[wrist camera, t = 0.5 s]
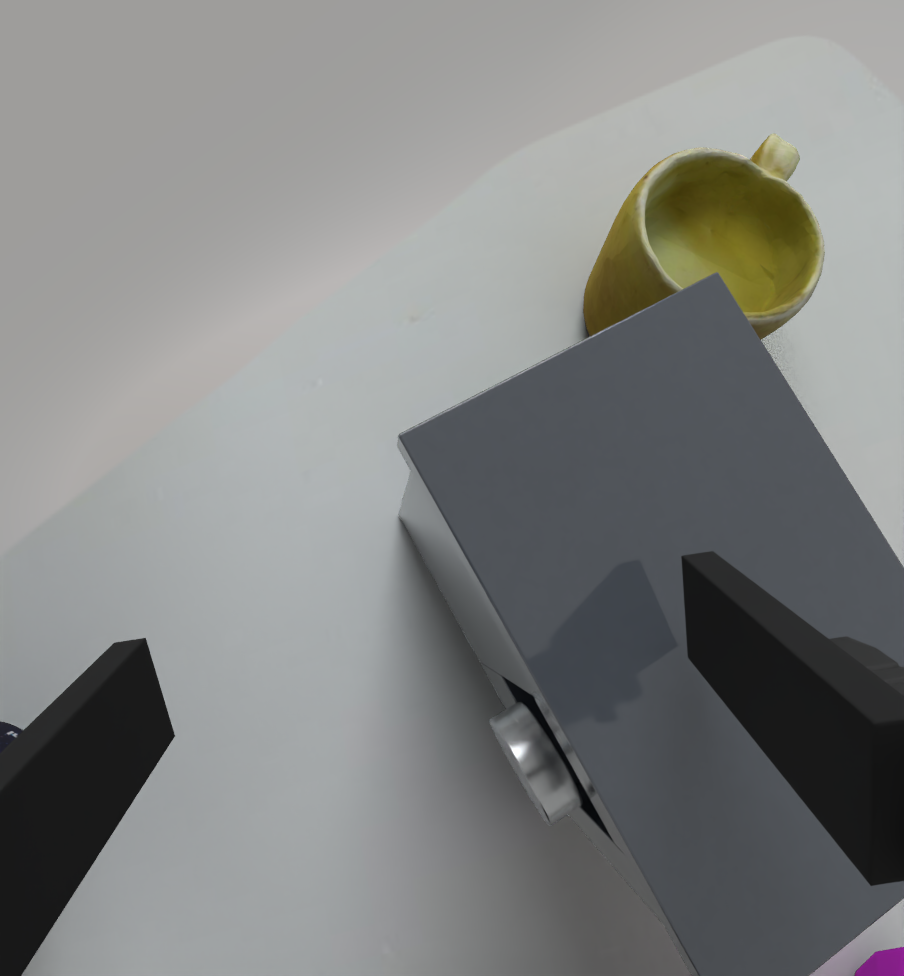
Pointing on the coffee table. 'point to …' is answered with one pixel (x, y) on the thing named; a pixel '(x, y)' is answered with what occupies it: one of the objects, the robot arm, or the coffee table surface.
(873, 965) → the headphones
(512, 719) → the flush button
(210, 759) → the coffee table surface
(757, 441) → the cabinet
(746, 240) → the mug
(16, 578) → the coffee table surface
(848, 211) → the coffee table surface
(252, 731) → the coffee table surface
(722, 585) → the robot arm
